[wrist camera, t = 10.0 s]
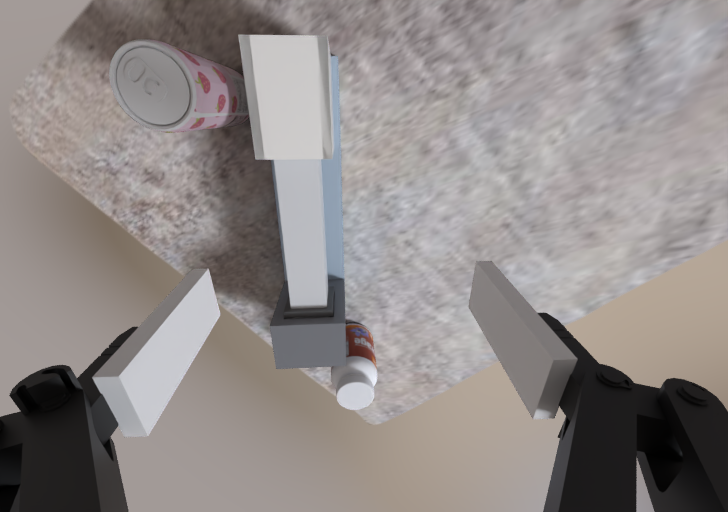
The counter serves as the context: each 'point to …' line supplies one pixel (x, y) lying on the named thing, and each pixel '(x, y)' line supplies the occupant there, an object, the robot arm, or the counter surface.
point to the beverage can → (176, 88)
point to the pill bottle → (356, 369)
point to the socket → (310, 334)
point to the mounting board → (328, 194)
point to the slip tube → (304, 238)
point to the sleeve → (289, 95)
